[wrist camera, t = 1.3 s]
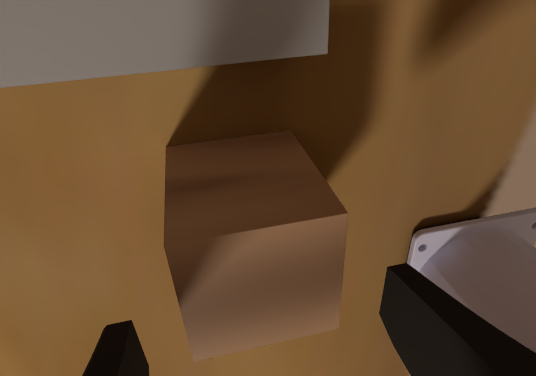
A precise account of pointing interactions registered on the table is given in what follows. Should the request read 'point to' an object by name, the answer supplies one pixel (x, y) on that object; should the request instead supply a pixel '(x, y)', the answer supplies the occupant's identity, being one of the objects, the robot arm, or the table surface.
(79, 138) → the table surface
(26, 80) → the grey box
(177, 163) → the walnut block
